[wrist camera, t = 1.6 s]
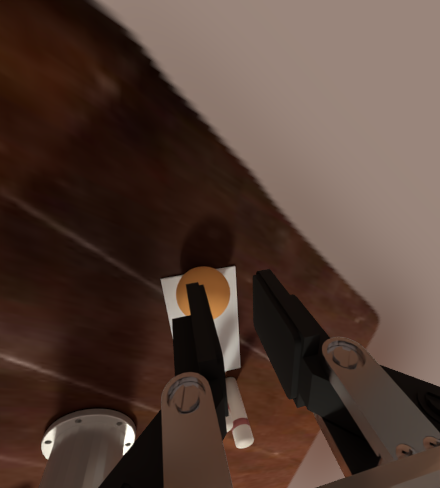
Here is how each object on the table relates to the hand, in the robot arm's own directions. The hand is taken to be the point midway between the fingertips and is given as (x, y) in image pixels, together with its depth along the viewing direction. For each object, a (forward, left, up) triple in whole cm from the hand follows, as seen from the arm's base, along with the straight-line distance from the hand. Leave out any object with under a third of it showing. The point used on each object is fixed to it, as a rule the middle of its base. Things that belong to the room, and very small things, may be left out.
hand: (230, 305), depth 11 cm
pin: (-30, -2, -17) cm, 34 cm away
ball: (-10, 0, -14) cm, 17 cm away
